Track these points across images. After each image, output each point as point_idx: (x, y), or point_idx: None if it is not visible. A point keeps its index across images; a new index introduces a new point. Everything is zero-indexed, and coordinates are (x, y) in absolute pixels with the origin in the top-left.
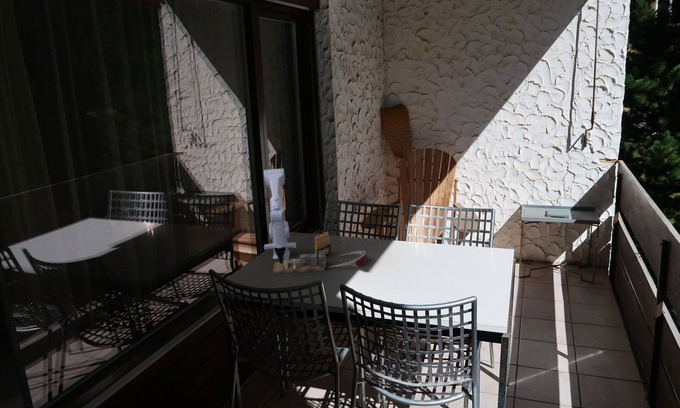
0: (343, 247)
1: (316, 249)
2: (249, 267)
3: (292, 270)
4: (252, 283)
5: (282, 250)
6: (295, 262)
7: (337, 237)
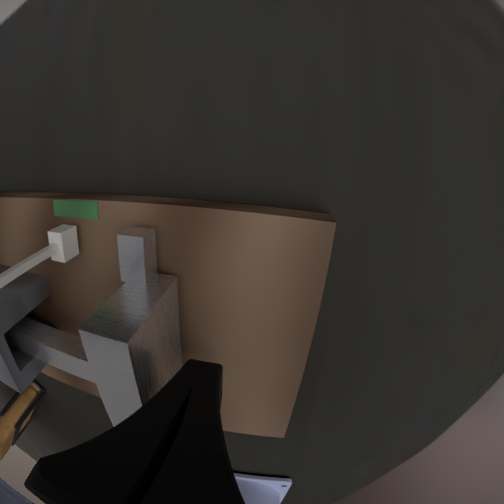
0: None
1: (3, 418)
2: (463, 401)
3: (90, 199)
4: (501, 34)
5: (59, 499)
6: None
7: None
